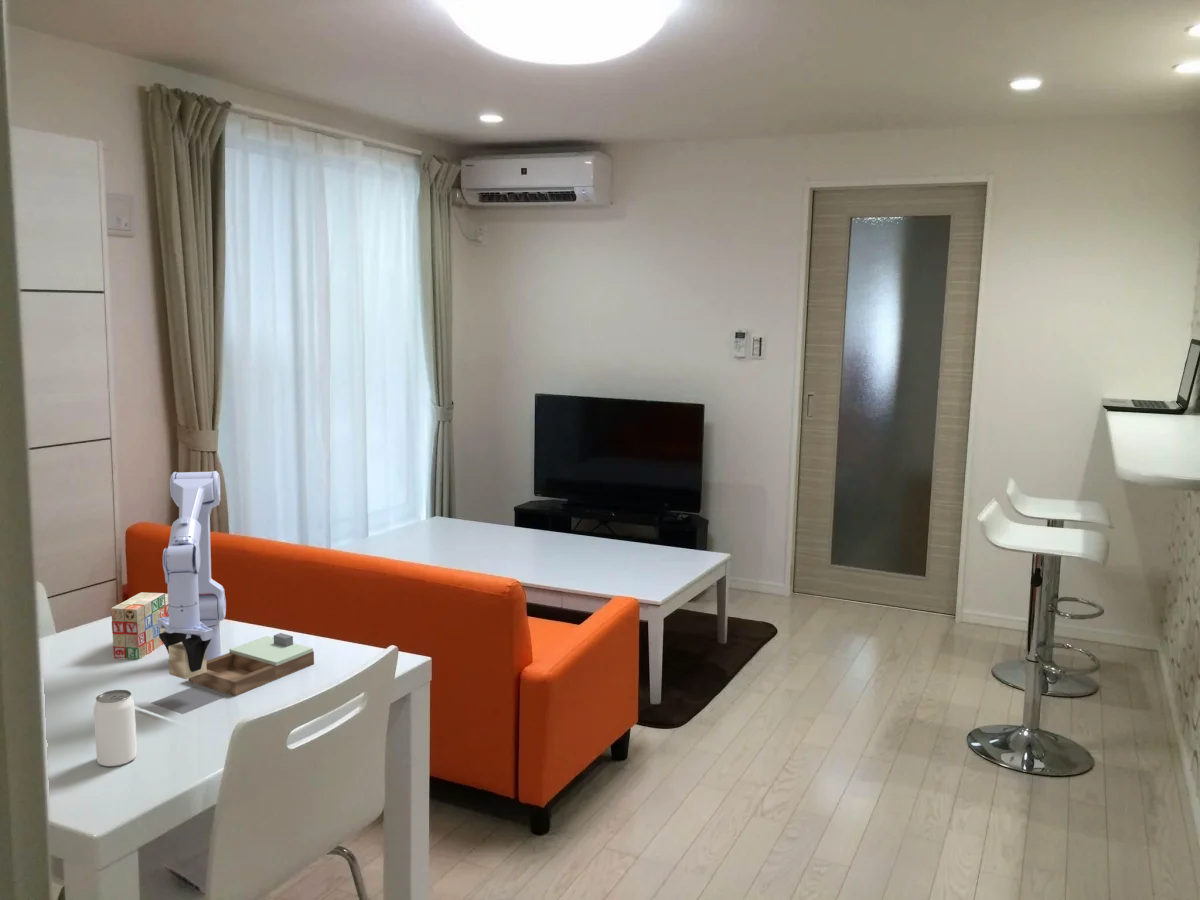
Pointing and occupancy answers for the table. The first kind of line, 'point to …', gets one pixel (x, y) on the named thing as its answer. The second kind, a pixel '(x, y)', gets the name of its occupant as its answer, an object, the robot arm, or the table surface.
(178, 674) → the block
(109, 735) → the can
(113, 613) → the stack of blocks
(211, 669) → the brown wooden shallow box
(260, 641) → the lid
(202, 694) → the mat
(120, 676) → the table surface
